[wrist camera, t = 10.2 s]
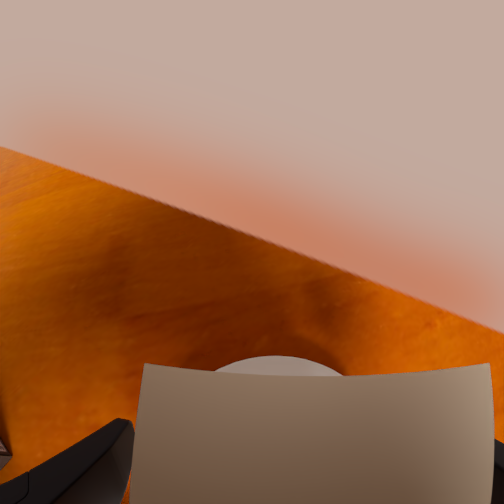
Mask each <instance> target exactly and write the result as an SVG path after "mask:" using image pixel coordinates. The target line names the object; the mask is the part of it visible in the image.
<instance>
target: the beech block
mask: <svg viewBox="0 0 504 504" xmlns="http://www.w3.org/2000/svg"><path fill="white" fill-rule="evenodd" d="M493 469H494V409H493V394H492V382H491V372H490V364H489V363H485V364H479V365H472V366H465V367H458V368H450V369H441V370H432V371H422V372H411V373H398V374H382V375H360V376H279V375H256V374H240V373H227V372H215V371H204V370H194V369H185V368H177V367H169V366H162V365H154V364H147V363H144V369H143V376H142V382H141V389H140V396H139V404H138V411H137V419H136V428H135V437H134V446H133V457H132V468H131V481H130V495H129V504H491V495H492V484H493Z"/></svg>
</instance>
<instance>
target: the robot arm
mask: <svg viewBox="0 0 504 504" xmlns="http://www.w3.org/2000/svg"><path fill="white" fill-rule="evenodd" d="M134 437H135V432H134V428H133V424H132V422H131V421H130V420H126V419H121V418H117V419H115V420H113V421H111V422H110V423H108V424H107V425H105V426H103V427H102V428H100V429H99V430H97V431H95V432H94V433H92V434H91V435H89V436H87V437H86V438H84V439H82V440H81V441H79V442H78V443H76V444H74V445H73V446H71V447H69V448H68V449H66V450H64V451H62V452H61V453H59V454H57V455H56V456H54V457H52V458H50V459H49V460H47V461H45V462H43V463H42V464H40V465H38V466H36V467H35V468H33V469H31V470H30V471H29V472H25V473H24V474H22V475H20V476H18V477H16V478H14V479H12V480H10V481H8V482H6V483H4V484H1V485H0V504H121V501H122V498H123V496H124V493H125V490H126V487H127V483H128V480H129V475H130V471H131V467H132V457H133V446H134ZM491 504H504V444H503V443H502V442H500V441H498V440H496V439H494V469H493V484H492V495H491Z"/></svg>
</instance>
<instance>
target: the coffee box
mask: <svg viewBox="0 0 504 504" xmlns="http://www.w3.org/2000/svg"><path fill="white" fill-rule="evenodd" d="M11 458H12V456H11V455H10V453H9V452H8V450H7V448H6V447H5V445H4V444H3V442H2V440H1V439H0V470H1V469H2V468H3V467H4V466H5V465H6V464H7V462H8V461H9V460H10V459H11Z"/></svg>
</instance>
